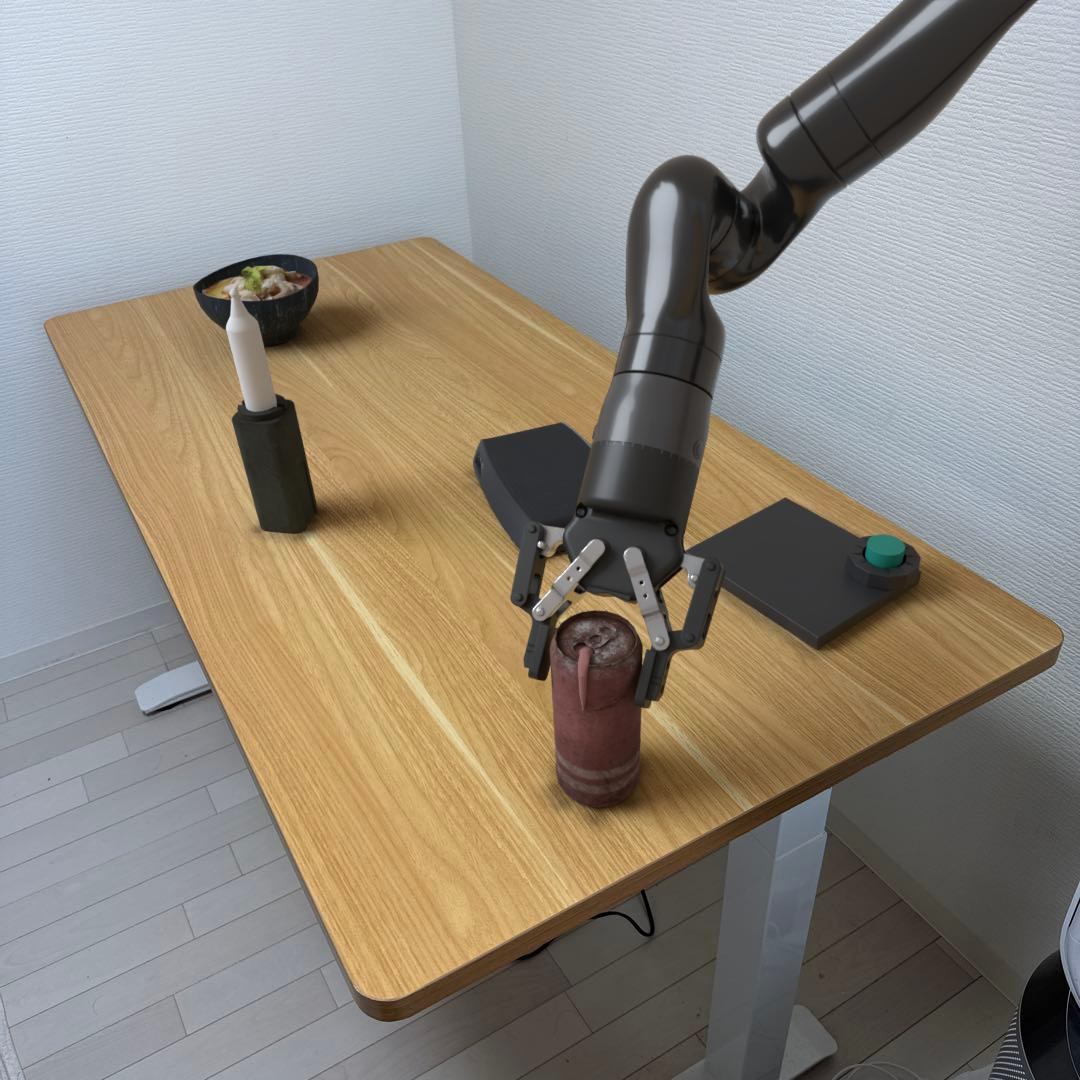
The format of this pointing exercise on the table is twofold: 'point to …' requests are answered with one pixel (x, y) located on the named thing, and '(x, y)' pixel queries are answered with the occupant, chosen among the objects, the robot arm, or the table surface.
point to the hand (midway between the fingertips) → (587, 692)
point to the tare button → (885, 551)
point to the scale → (805, 571)
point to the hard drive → (532, 476)
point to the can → (596, 707)
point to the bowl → (263, 293)
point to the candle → (268, 433)
